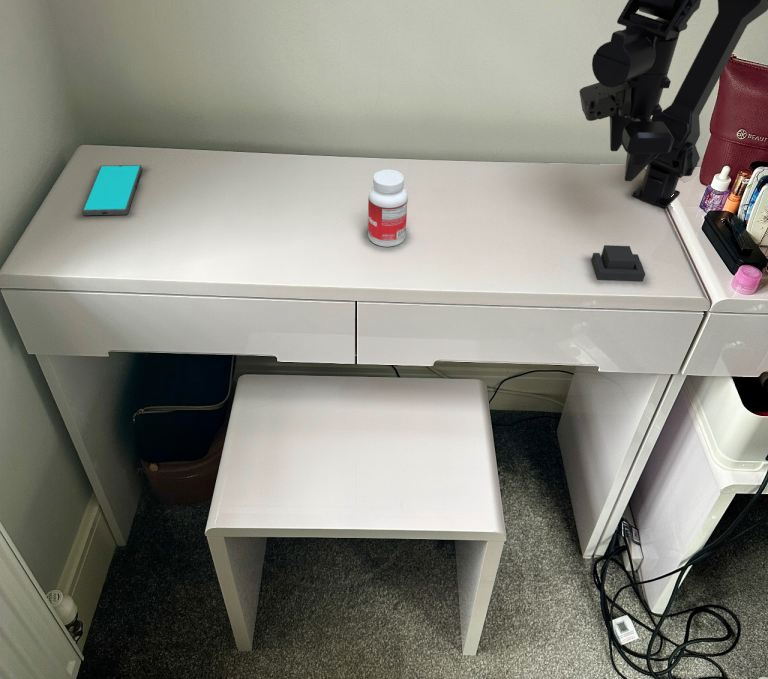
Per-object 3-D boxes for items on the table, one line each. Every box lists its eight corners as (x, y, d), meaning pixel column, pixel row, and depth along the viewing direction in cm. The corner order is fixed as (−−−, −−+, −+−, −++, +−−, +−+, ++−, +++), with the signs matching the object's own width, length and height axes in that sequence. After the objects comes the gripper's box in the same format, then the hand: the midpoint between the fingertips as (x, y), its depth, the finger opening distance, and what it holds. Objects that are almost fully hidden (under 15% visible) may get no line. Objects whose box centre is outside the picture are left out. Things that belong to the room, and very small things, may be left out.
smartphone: (81, 211, 116) (100, 165, 127) (82, 215, 117) (101, 169, 128) (127, 210, 117) (142, 164, 128) (128, 214, 117) (143, 169, 128)
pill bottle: (366, 226, 117) (367, 167, 109) (403, 225, 117) (406, 166, 110) (369, 248, 112) (370, 188, 105) (407, 247, 113) (411, 187, 105)
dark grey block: (599, 260, 112) (604, 244, 110) (624, 261, 112) (629, 245, 110) (604, 276, 109) (609, 260, 107) (630, 276, 109) (635, 261, 107)
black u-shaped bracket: (591, 260, 112) (593, 252, 111) (635, 261, 112) (637, 254, 111) (597, 279, 108) (599, 272, 107) (642, 281, 108) (645, 273, 107)
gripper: (578, 40, 106) (558, 135, 117) (606, 95, 93) (581, 197, 104) (651, 41, 107) (625, 136, 117) (690, 96, 93) (656, 198, 104)
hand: (620, 165), depth 111 cm, fingers open, 9 cm apart
